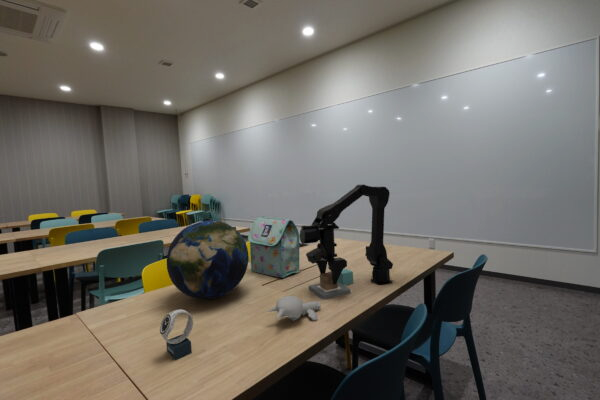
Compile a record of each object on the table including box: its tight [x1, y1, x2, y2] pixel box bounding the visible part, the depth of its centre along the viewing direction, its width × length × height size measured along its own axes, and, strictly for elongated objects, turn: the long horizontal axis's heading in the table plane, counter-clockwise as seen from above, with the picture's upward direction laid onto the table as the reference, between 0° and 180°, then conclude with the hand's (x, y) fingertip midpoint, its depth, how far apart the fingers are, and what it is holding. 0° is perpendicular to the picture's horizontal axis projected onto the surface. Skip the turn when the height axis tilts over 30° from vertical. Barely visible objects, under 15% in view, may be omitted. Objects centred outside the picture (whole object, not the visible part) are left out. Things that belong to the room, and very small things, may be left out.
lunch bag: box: [247, 216, 301, 278], centre depth 142 cm, size 23×16×27 cm
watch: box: [159, 308, 194, 361], centre depth 77 cm, size 6×8×11 cm
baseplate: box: [308, 282, 352, 300], centre depth 115 cm, size 12×12×2 cm
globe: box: [166, 219, 250, 301], centre depth 114 cm, size 30×30×30 cm
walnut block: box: [319, 271, 338, 290], centre depth 115 cm, size 5×5×5 cm
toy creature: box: [266, 295, 322, 322], centre depth 93 cm, size 13×7×20 cm
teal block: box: [338, 268, 354, 286], centre depth 124 cm, size 5×5×5 cm
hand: (328, 280), depth 115 cm, fingers open, 9 cm apart
